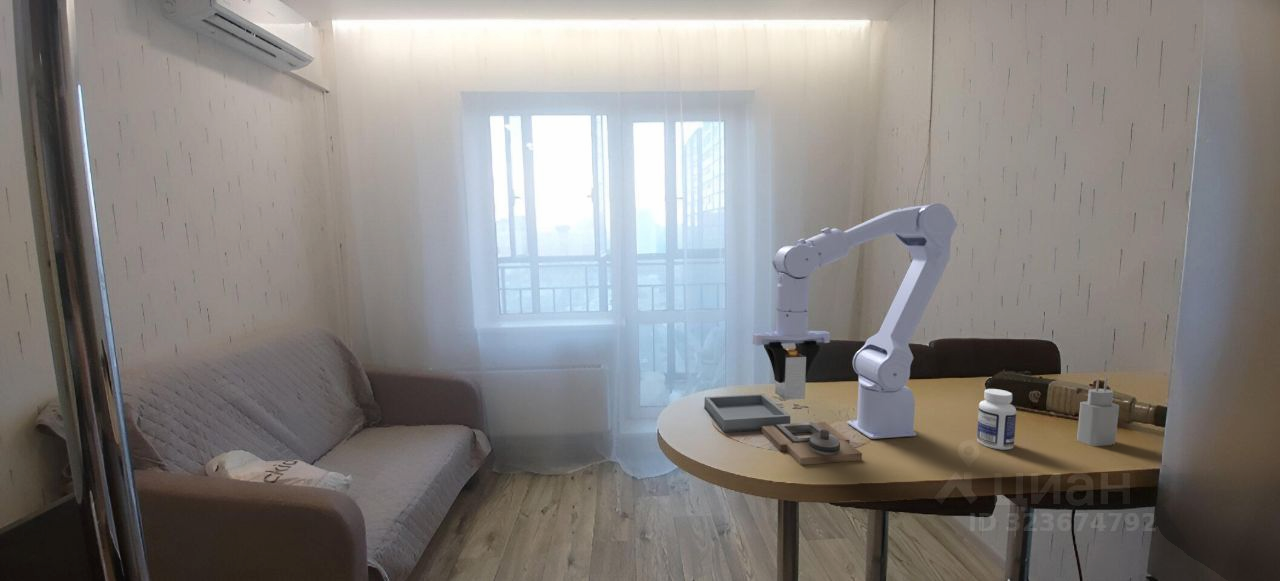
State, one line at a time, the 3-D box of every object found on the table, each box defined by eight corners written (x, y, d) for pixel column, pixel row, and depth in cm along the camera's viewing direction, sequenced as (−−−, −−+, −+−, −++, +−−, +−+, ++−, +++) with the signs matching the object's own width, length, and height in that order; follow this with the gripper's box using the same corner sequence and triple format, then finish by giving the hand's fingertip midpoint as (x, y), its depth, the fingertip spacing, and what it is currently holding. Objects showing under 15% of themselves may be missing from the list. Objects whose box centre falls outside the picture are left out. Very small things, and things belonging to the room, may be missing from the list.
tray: (762, 404, 106) (762, 393, 106) (790, 428, 93) (790, 415, 93) (704, 407, 104) (704, 397, 104) (723, 432, 91) (724, 420, 91)
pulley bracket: (824, 427, 93) (825, 406, 93) (868, 459, 79) (869, 434, 79) (761, 432, 91) (761, 410, 91) (794, 465, 78) (795, 440, 77)
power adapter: (1117, 444, 85) (1124, 379, 84) (1093, 446, 84) (1100, 381, 83) (1097, 437, 88) (1104, 374, 87) (1074, 439, 87) (1080, 376, 86)
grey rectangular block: (794, 391, 92) (795, 346, 91) (804, 398, 88) (806, 351, 87) (775, 392, 91) (776, 347, 90) (784, 399, 87) (786, 352, 86)
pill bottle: (1006, 440, 87) (1010, 388, 86) (1018, 452, 82) (1023, 398, 81) (972, 436, 89) (975, 386, 88) (982, 448, 84) (986, 395, 83)
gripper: (817, 306, 93) (814, 373, 94) (747, 307, 91) (745, 376, 92) (837, 311, 86) (834, 383, 87) (762, 313, 84) (760, 387, 85)
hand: (790, 380), depth 89 cm, fingers closed on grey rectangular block, 4 cm apart
